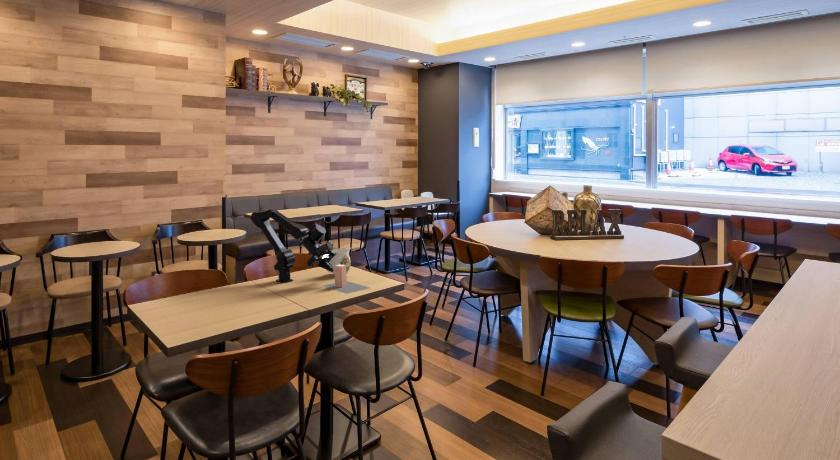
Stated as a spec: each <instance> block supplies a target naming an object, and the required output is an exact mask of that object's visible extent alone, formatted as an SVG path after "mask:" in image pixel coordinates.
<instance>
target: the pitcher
mask: <svg viewBox="0 0 840 460" xmlns="http://www.w3.org/2000/svg"><path fill="white" fill-rule="evenodd" d="M351 249H352V247H350V246H347V247H341V248H332V250H335V251H336V252H337V254H336V255H335V256H334V257H333V258H332V259H331V260H330V261H331V264H332V266H333V269H334V266H336V265H339V264H340V265H346V276H347V275H348V274H349V272H350V268H351V257H350V250H351ZM326 272H328V273H329V274H332V275H333V276H334V277H335V270H334V271H333V272H331V271H328V270H326Z"/></svg>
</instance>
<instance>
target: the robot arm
mask: <svg viewBox="0 0 840 460" xmlns="http://www.w3.org/2000/svg"><path fill="white" fill-rule="evenodd" d="M271 219H272V220H274V221H275V222H276V223H277V224H279V225H280V226H281V227H283V228H284V229H286V230H287V231H288V232H289V234H290V236H292V238H293V239H295V240H299V241H298V242H299V243H298V247H299V248H301V247H304V248H305V249H306V250H307V252H308V253H307V255H309V256H310V258H308V260H307V262H306V266H307V267H308V268H309V269H310V268H312V267H314V263H315V264H316V263H317V265H316V267H319V268H322V269H325V270H326V271H327V270H328V271H331V272H333V271H334V269H333V266H332V264H331V261H330V260H331V259H332V258H333V257H334V256H335V255H336V254H337V252H336V251H335V250H333V249H334V243H333V242H332V241H331V240H327V241H326V242H325V243H323V244H321V243H318V242H319V241H320V240H321V239H322V238H323V237H324V236H325V234H326V233H327V230H326V228H325V227H323V226H322V225H320V224H319V223H314V224H313V225H312V227H311V228H310V229H309V228H308V227H306V226H305V225H303V224H300V223H296V222H294V221H293V220H292V219H290V218H289V217H287V216H285V214H283V213H281V212H280V211H279V210H278V209H276V208H270V209H267V210H261V211H260V210H259V211H253V212H252V213H251V215H250V221H251V222H252V224H253V225H254V226H256V228H259V229H260V230H261V231H262V233H263V235H264V236H265V238H266V240H267V241H268V243H269V244H270V245H271V248H272V249H273V250H274V252H275V259H276V261H277V262H276V263H275V264H274V266H273V269H274V270H275V271H277V276H278V277H277V278H278V279H275V281H276V282H279V283H284V284H285V283H289V282H292V281H294V279H292V278H291V269H292V268H293V267H294V264H295V262H296V257H295V256H296V255H295V254H294V252H293V250H292V249H291V248H288V249H287V248H286V247H285V246H284V244H283V243H282V241H281V240H280V238H279V236H278V235H277V233H276V232H275V229H273V227H272V225H271ZM301 239H302V240H301ZM328 271H327V272H328Z"/></svg>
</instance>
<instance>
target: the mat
mask: <svg viewBox="0 0 840 460" xmlns="http://www.w3.org/2000/svg"><path fill="white" fill-rule="evenodd" d="M346 281H347V286H344V287H335V282H334V283H329V284H323V285H322V287H324V288H327V289H330V290H332V291H333V290H334V291H337V292H340V293H344V294H346V295H347V294H351V293H355V292H360V291H363V290H369V289H370V286H365V285H362V284H358V283H355V282H352V281H348V280H346Z"/></svg>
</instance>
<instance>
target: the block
mask: <svg viewBox="0 0 840 460" xmlns="http://www.w3.org/2000/svg"><path fill="white" fill-rule="evenodd" d="M334 270H335V276H334V283H335V287H344V286H347V281H348V280H347V275H346V265H340V264H339V265H336V266H334Z"/></svg>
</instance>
